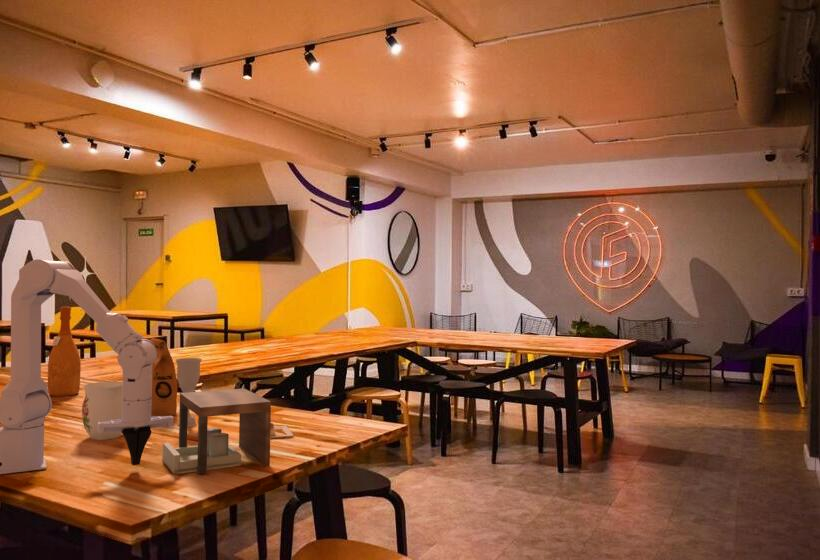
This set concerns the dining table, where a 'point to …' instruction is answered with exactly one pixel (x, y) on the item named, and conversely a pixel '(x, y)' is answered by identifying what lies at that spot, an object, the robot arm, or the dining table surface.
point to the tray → (187, 457)
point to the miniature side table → (226, 403)
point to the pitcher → (102, 407)
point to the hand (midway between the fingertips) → (135, 463)
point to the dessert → (285, 428)
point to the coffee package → (163, 382)
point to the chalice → (188, 379)
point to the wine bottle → (64, 360)
